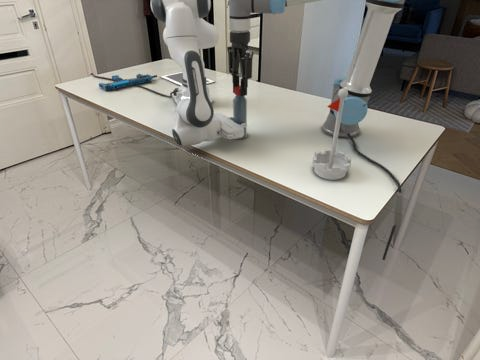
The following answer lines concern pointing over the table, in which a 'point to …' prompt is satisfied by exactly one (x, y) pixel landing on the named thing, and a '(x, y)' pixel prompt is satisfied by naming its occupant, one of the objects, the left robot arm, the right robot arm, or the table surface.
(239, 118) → the bottle
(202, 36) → the left robot arm
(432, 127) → the table surface
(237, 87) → the cap
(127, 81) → the submachine gun
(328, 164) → the flag stand
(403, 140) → the table surface
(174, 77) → the tablet
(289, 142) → the table surface
